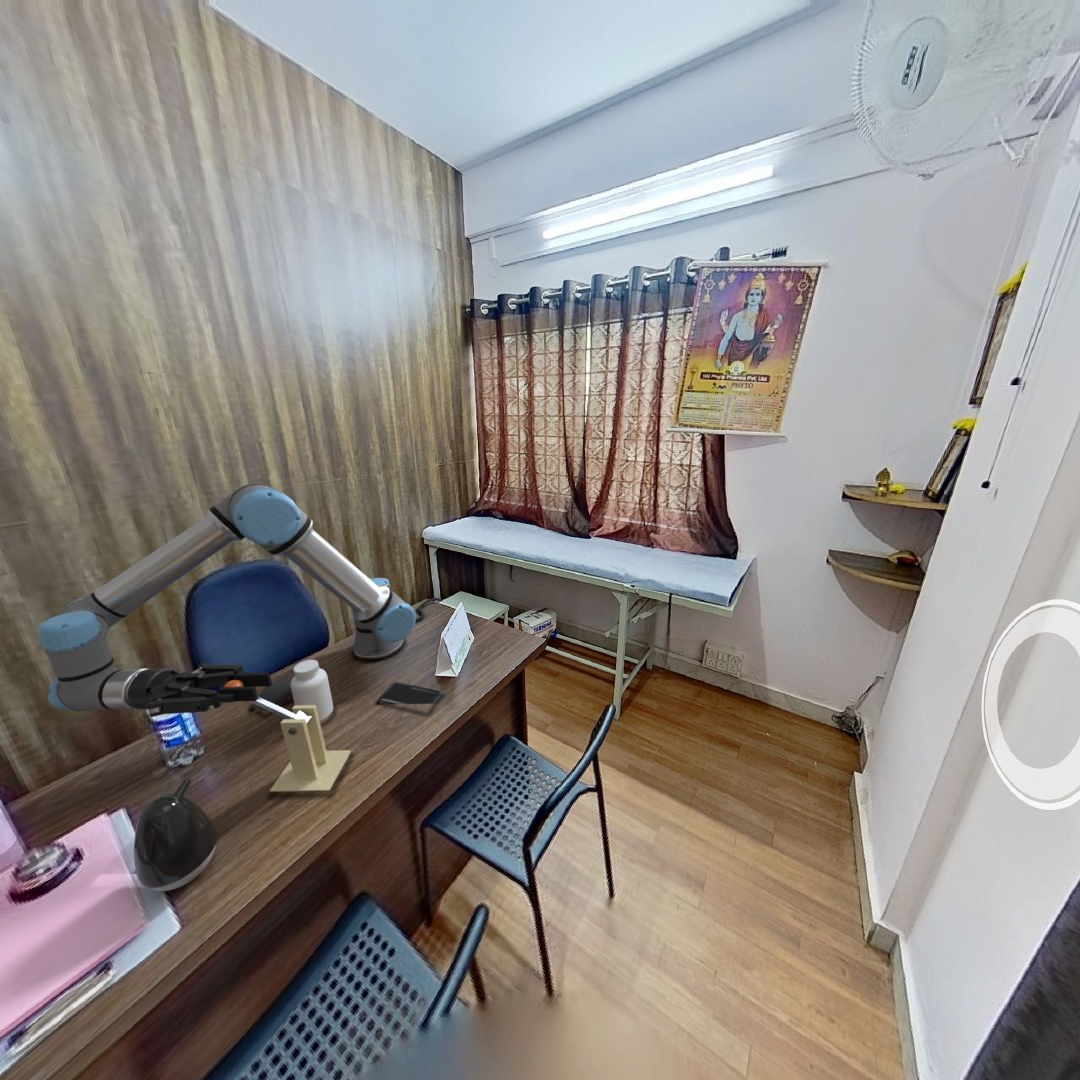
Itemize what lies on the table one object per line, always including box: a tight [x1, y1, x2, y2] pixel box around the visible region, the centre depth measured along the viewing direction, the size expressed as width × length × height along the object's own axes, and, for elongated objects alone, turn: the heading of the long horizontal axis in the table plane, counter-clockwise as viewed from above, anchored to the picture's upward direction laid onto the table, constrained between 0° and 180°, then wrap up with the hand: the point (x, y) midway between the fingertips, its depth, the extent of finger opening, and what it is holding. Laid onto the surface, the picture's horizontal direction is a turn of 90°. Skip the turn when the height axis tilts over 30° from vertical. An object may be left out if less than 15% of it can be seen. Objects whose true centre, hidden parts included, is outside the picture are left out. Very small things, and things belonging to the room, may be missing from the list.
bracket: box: [269, 704, 352, 793], centre depth 85 cm, size 12×10×16 cm
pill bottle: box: [291, 659, 334, 722], centre depth 102 cm, size 8×8×15 cm
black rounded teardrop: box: [133, 778, 219, 892], centre depth 68 cm, size 10×10×15 cm
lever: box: [222, 680, 312, 724], centre depth 82 cm, size 17×4×4 cm
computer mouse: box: [250, 674, 295, 712], centre depth 111 cm, size 8×14×4 cm, turn 150°
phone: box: [378, 681, 442, 705], centre depth 109 cm, size 8×1×15 cm
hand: (262, 686), depth 81 cm, fingers closed on lever, 4 cm apart
